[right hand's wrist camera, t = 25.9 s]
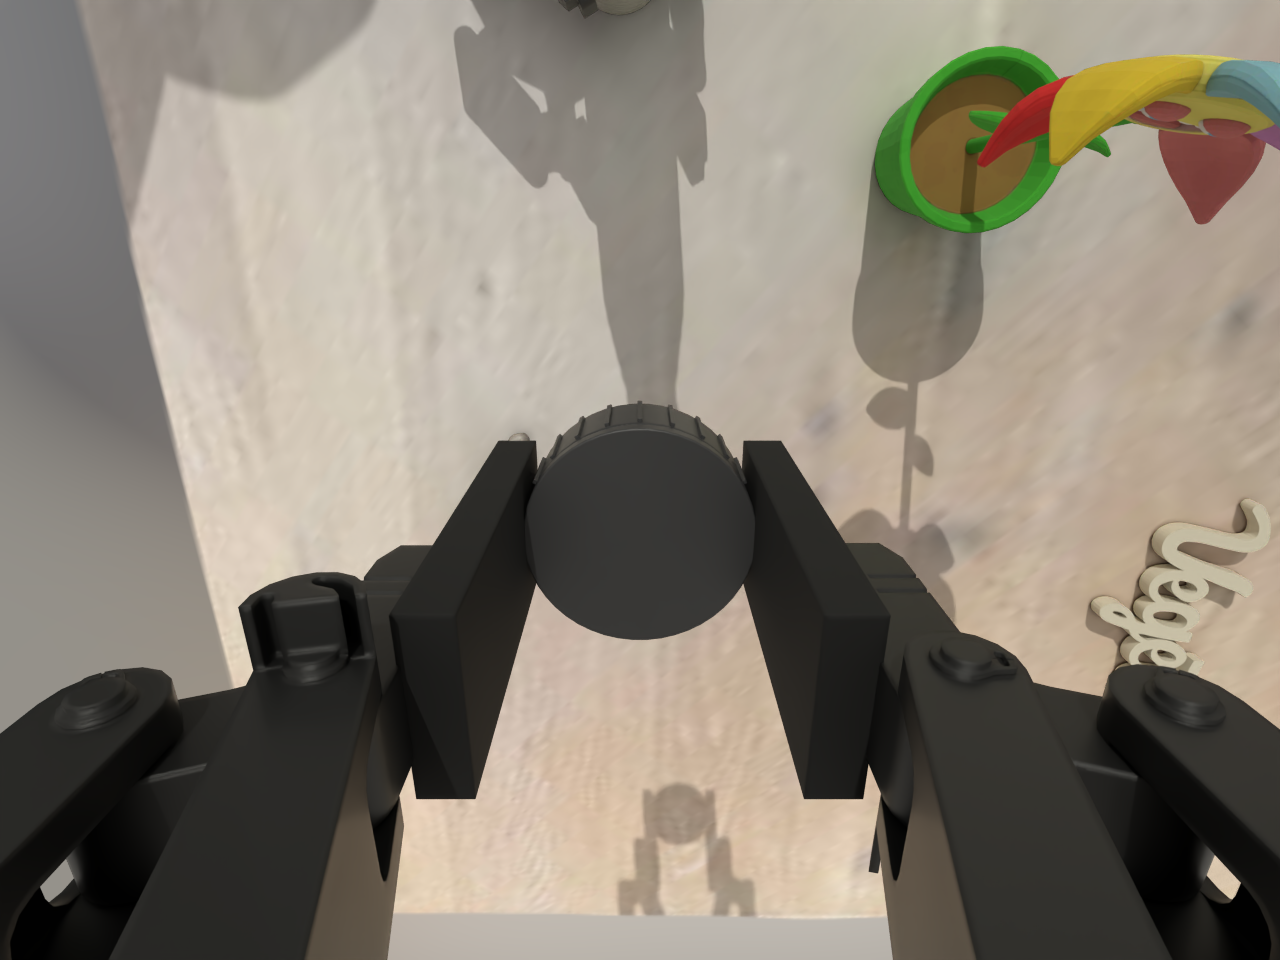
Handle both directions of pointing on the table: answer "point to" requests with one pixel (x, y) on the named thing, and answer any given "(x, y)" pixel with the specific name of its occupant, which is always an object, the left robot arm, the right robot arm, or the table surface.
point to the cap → (639, 523)
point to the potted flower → (1070, 130)
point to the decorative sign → (1181, 589)
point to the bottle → (620, 6)
